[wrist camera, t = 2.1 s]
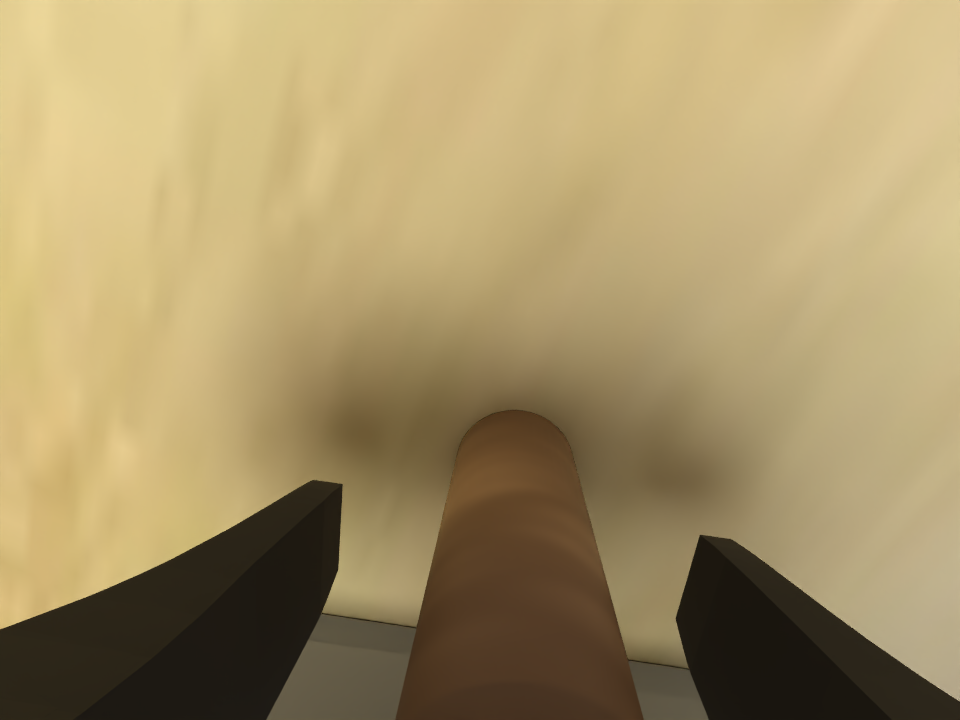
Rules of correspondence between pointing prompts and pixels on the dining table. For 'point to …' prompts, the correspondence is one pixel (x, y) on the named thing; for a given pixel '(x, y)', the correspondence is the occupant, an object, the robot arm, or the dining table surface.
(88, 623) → the robot arm
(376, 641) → the open box
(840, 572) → the dining table surface
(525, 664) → the peg
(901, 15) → the dining table surface
